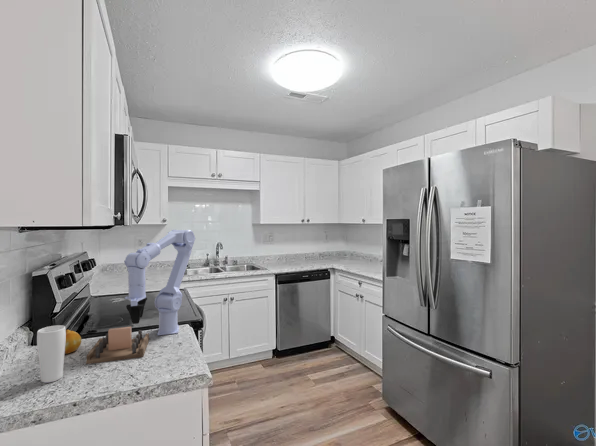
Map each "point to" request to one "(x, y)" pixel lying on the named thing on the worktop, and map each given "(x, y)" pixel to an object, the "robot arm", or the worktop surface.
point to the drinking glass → (51, 352)
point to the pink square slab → (119, 338)
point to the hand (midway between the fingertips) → (137, 320)
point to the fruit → (72, 341)
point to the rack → (117, 350)
